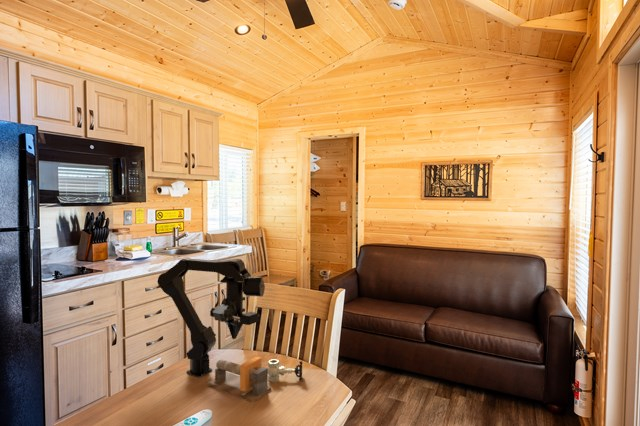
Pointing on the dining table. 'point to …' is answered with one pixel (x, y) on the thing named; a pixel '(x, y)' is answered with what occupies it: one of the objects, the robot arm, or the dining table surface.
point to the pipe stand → (232, 382)
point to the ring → (244, 373)
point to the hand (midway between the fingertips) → (234, 338)
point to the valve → (282, 370)
